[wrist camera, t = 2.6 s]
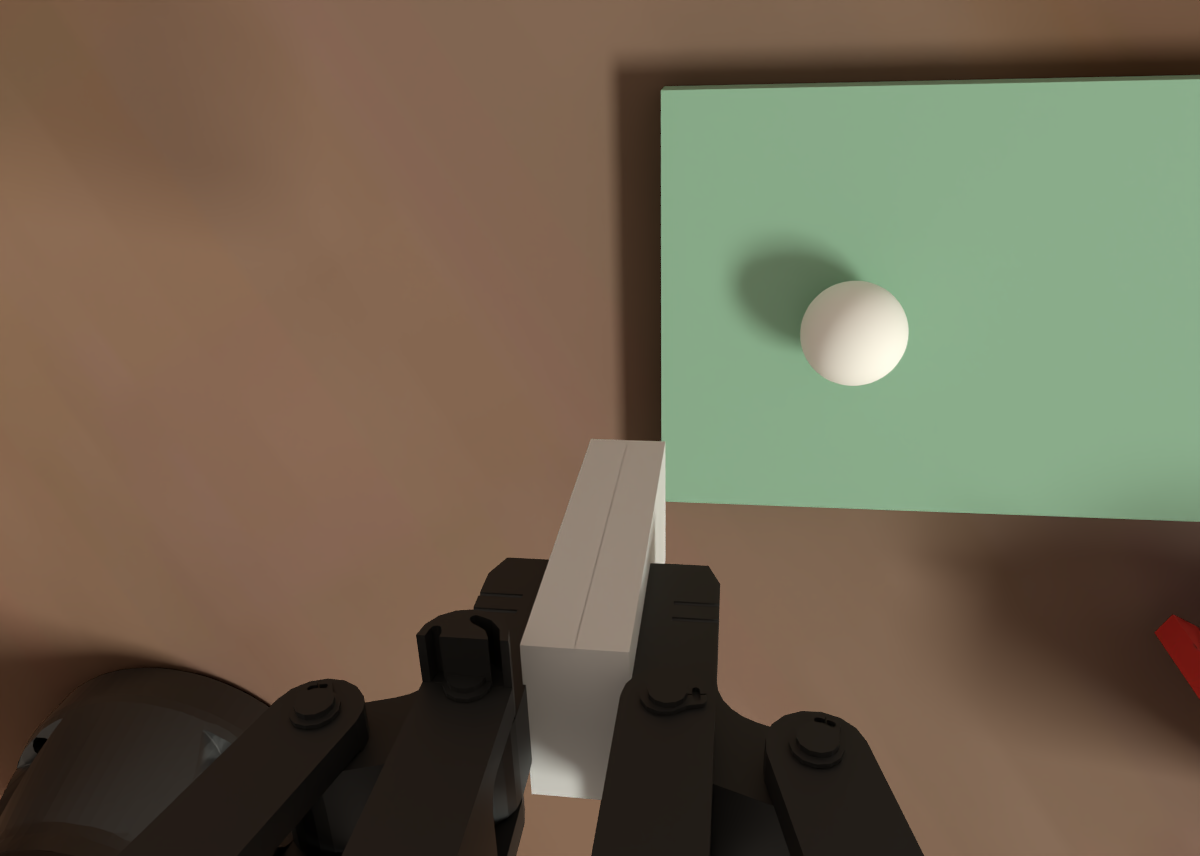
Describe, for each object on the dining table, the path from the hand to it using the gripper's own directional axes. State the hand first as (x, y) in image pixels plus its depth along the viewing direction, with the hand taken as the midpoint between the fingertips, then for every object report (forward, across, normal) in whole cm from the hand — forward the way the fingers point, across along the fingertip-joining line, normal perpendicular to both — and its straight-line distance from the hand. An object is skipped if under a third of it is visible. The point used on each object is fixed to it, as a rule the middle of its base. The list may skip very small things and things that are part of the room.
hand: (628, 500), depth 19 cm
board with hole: (+15, +14, 0) cm, 20 cm away
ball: (+11, +6, 0) cm, 13 cm away
